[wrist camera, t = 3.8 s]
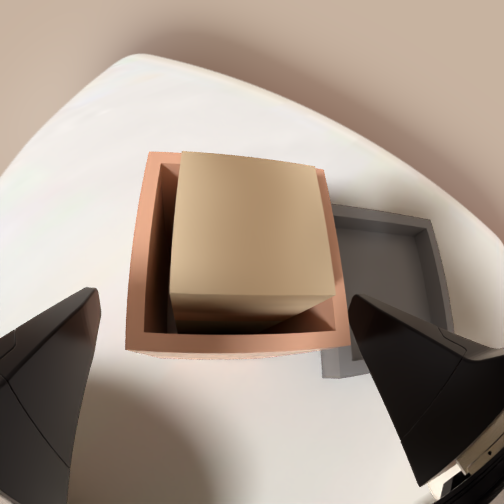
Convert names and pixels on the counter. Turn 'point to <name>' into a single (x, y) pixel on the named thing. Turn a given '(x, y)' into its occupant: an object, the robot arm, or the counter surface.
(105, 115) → the counter surface
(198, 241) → the block top
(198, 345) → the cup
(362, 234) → the tray
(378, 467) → the counter surface
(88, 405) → the counter surface
